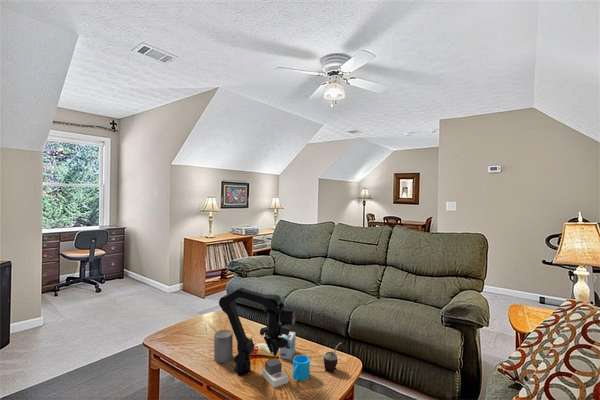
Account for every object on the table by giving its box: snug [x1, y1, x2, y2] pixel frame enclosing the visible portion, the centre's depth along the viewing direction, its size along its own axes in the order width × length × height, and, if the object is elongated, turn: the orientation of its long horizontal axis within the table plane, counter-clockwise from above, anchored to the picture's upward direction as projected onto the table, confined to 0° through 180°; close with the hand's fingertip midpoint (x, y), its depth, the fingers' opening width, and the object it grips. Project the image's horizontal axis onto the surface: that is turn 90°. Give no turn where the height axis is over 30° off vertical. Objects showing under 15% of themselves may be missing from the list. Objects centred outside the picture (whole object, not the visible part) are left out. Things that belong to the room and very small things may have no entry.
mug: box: [292, 354, 311, 381], centre depth 152 cm, size 12×8×8 cm
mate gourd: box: [323, 342, 343, 374], centre depth 160 cm, size 8×8×15 cm
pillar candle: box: [213, 329, 234, 364], centre depth 169 cm, size 10×10×15 cm
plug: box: [264, 357, 283, 375], centre depth 153 cm, size 6×6×7 cm
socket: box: [261, 367, 289, 389], centre depth 151 cm, size 8×12×4 cm, turn 33°
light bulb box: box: [279, 331, 297, 360], centre depth 175 cm, size 11×7×11 cm, turn 168°
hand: (273, 354), depth 153 cm, fingers open, 3 cm apart
